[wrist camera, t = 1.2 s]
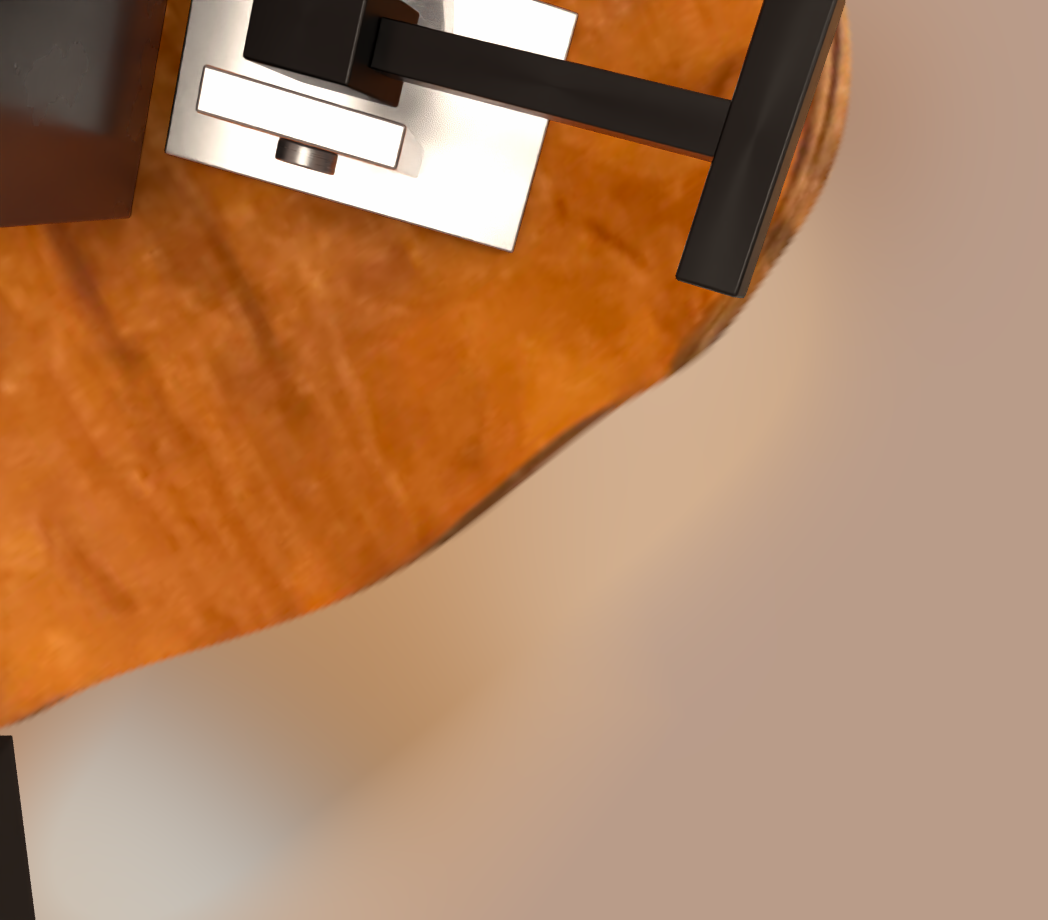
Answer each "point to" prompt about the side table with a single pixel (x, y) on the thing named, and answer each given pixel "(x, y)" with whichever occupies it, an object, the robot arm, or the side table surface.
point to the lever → (586, 100)
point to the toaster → (73, 106)
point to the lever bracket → (370, 124)
